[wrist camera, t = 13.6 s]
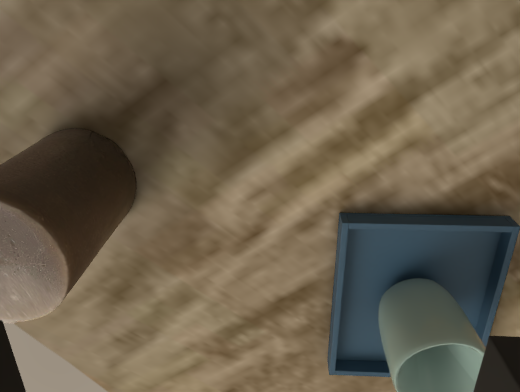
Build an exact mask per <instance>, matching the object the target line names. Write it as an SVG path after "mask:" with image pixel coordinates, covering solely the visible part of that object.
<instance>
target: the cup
mask: <svg viewBox="0 0 520 392" xmlns="http://www.w3.org/2000/svg"><path fill="white" fill-rule="evenodd" d="M378 325H379V333H380V338H381V342H382V347H383V350H384V354H385V358H386V362H387V365H388V369H389V372H390V376H391V379H392V382H393V385H394V388H395V390H396V392H473V391H474V388H475V384H476V381H477V377H478V374H479V370H480V367H481V363H482V360H483V356H484V353H485V349H486V348H485V346H484V344H483V342H482V341H481V339H480V337H479V335H478V333H477V332H476V330H475V328H474V326H473V325H472V323H471V321H470V320H469V318H468V316H467V315H466V313H465V312H464V310H463V309H462V307H461V306H460V305H459V303H458V302H457V301H456V299H455V298H454V297H453V296H452V295H451V293H450V292H449V291H448V290H447V289H445V288H444V287H443V286H442V285H440V284H439V283H437V282H435V281H433V280H430V279H426V278H410V279H406V280H402V281H400V282H397V283H395V284H394V285H392V286H391V287H389V288H388V289H387V290H386V291H385V293H384V294H383V295H382V297H381V300H380V302H379V307H378Z"/></svg>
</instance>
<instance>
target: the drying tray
mask: <svg viewBox="0 0 520 392" xmlns="http://www.w3.org/2000/svg"><path fill="white" fill-rule="evenodd" d="M519 230H520V226H519V225H518V224H517V223H516V222H515V221H514V220H513V219H512V218H511V217H510V216H480V215H428V214H376V213H339V226H338V238H337V250H336V263H335V275H334V287H333V299H332V312H331V324H330V336H329V349H328V368H329V375H353V376H379V377H391V376H390V372H389V369H388V365H387V362H386V358H385V354H384V350H383V347H382V342H381V338H380V333H379V325H378V307H379V302H380V300H381V297H382V295H383V294H384V293H385V291H386V290H387V289H388V288H389V287H391V286H392V285H394V284H395V283H397V282H400V281H402V280H406V279H410V278H426V279H430V280H433V281H435V282H437V283H439V284H440V285H442V286H443V287H444V288H445V289H447V290H448V291H449V292H450V293H451V295H452V296H453V297H454V298H455V299H456V301H457V302H458V303H459V305H460V306H461V307H462V309H463V310H464V312H465V313H466V315H467V316H468V318H469V320H470V321H471V323H472V325H473V326H474V328H475V330H476V332H477V333H478V335H479V337H480V339H481V341H482V342H483V344H484V346H485V348H486V345H487V342H488V338H489V335H490V331H491V328H492V324H493V321H494V317H495V314H496V310H497V307H498V303H499V300H500V296H501V293H502V289H503V286H504V282H505V279H506V275H507V272H508V268H509V265H510V261H511V258H512V254H513V251H514V247H515V244H516V240H517V237H518V233H519Z"/></svg>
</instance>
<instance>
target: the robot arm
mask: <svg viewBox="0 0 520 392" xmlns="http://www.w3.org/2000/svg"><path fill="white" fill-rule="evenodd" d="M0 392H25V388H24V385H23V382H22V379H21V376H20V373H19V370H18V367H17V364H16V361H15V358H14V355H13V352H12V349H11V345H10V342H9V339H8V336H7V333H6V330H5V327H4V324H3V321H2V320H0ZM473 392H520V337H506V336H489V338H488V342H487V345H486V349H485V353H484V356H483V360H482V363H481V367H480V370H479V374H478V377H477V381H476V384H475V388H474V391H473Z"/></svg>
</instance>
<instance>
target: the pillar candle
mask: <svg viewBox="0 0 520 392" xmlns="http://www.w3.org/2000/svg"><path fill="white" fill-rule="evenodd" d="M132 169H133V168H132V165H131V163H130V162H129V160H128V158H127V157H126V156H125V155H124V153H123V152H122V151H121V150H120V148H119V147H118V146H117V145H116V144H115V143H113V142H112V141H111V140H109V139H108V138H105V137H103V136H101V135H98V134H96V133H95V132H92V131H89V130H84V129H65V130H60V131H57V132H55V133H53V134H51V135H48V136H47V137H45V138H43V139H42V140H40V141H39V142H37V143H35V144H34V145H32V146H30V147H29V148H27V149H26V150H24V151H22V152H21V153H19V154H18V155H16V156H14V157H13V158H11V159H9V160H8V161H6V162H4V163H3V164H1V165H0V320H2V321H3V322H5V323H17V321H26V320H33V319H37V318H40V317H42V316H46V315H47V314H49V313H50V312H52V311H53V310H54V309H56V308H57V307H58V306H59V305H60V304H61V303H62V301H63V300H64V298H65V297H66V296H67V294H68V293H69V292H70V290H71V289H72V288H73V286H74V285H75V283H76V282H77V281H78V279H79V278H80V277H81V275H82V274H83V273H84V271H85V270H86V268H87V267H88V266H89V265H90V263H91V262H92V260H93V259H94V258H95V256H96V255H97V254H98V252H99V250H100V249H101V248H102V247H103V245H104V244H105V242H106V241H107V240H108V238H109V237H110V236H111V235H112V233H113V232H114V230H115V229H116V227H117V226H118V225H119V224H120V222H121V221H122V220H123V219H124V217H125V216H126V215H127V213H128V212H129V211H130V209H131V207H132V204H133V201H134V199H135V194H136V178H135V173H134V171H133V170H132Z"/></svg>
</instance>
